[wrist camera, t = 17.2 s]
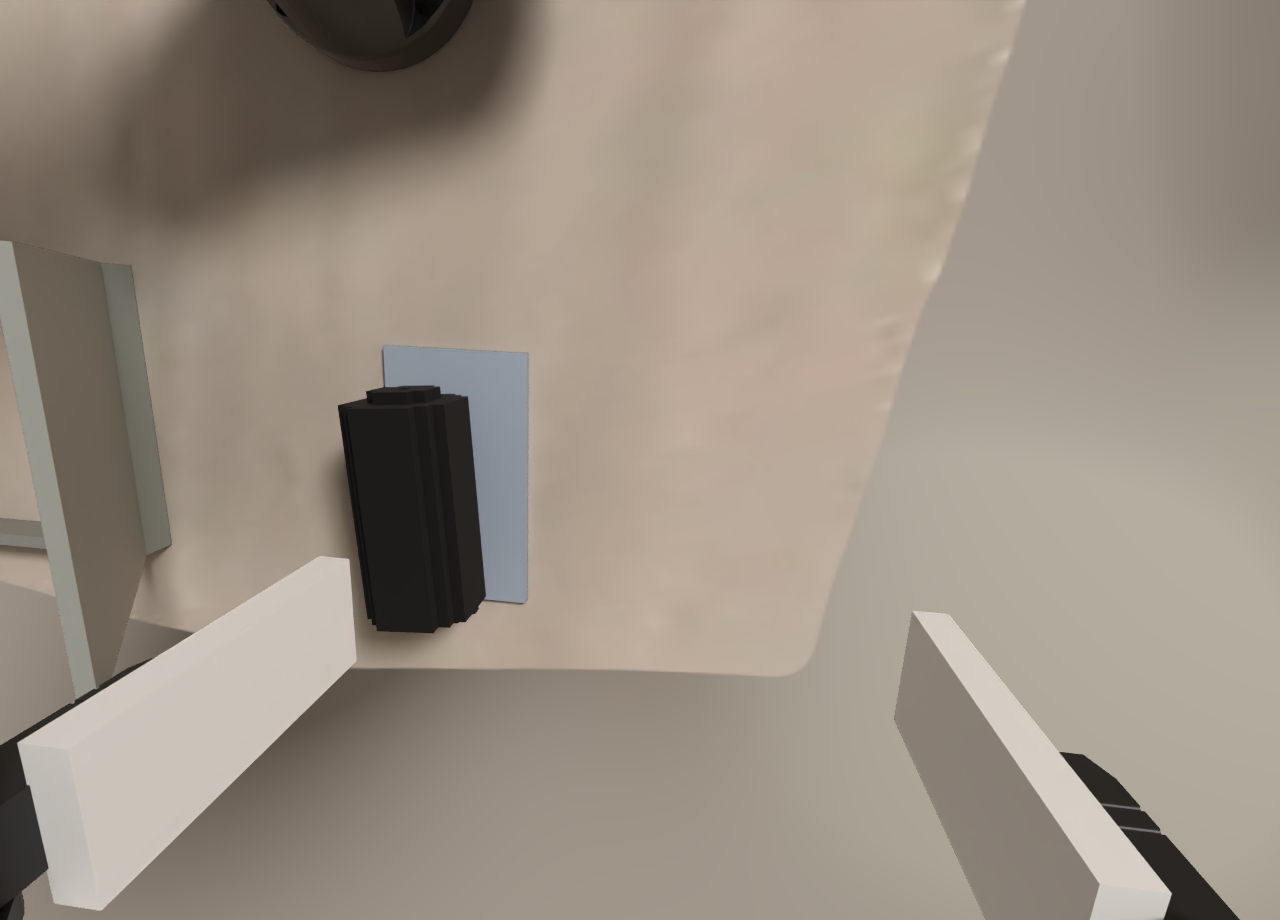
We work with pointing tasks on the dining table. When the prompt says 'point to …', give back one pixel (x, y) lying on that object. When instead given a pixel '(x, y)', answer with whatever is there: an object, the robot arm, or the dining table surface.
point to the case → (84, 442)
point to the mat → (485, 447)
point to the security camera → (414, 506)
